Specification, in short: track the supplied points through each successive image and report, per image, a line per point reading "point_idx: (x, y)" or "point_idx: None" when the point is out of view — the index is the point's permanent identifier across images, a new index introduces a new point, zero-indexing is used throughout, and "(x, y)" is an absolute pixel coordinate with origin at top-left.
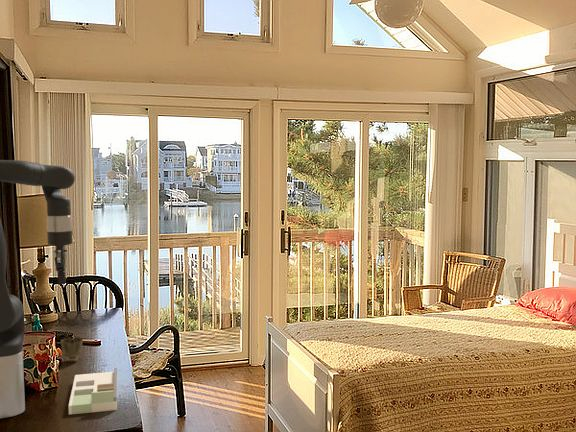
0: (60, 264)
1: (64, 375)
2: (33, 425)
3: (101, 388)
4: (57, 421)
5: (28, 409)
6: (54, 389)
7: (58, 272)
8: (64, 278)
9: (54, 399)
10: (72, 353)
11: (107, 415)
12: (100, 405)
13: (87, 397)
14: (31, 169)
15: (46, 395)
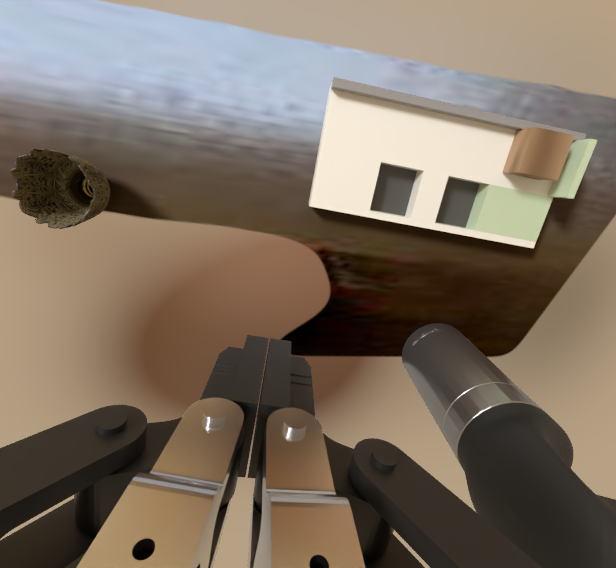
0: None
1: (233, 224)
2: (533, 311)
3: (555, 167)
4: (542, 269)
5: (440, 316)
6: (337, 257)
7: (255, 470)
8: (289, 368)
9: (408, 263)
10: (108, 190)
11: None
12: None
13: (505, 200)
14: None
15: (371, 277)
